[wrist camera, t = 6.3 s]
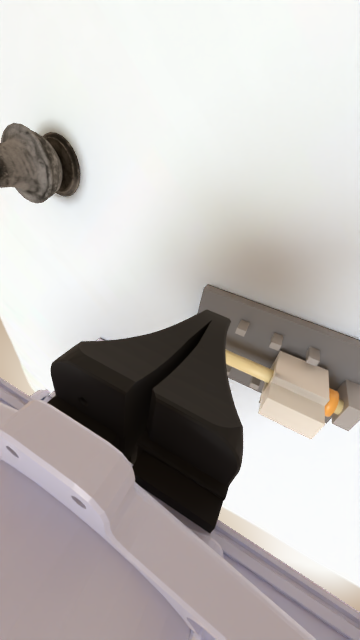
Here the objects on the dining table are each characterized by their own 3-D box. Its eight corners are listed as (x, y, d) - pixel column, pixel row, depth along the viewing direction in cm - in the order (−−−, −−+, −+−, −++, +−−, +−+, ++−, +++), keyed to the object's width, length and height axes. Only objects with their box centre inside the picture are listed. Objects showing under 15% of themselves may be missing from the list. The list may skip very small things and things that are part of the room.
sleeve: (309, 395, 22) (306, 444, 18) (266, 376, 23) (255, 418, 19) (328, 370, 20) (330, 418, 16) (280, 350, 21) (271, 391, 17)
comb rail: (326, 415, 24) (327, 454, 21) (190, 352, 28) (173, 377, 25) (385, 349, 19) (398, 388, 16) (207, 284, 23) (188, 304, 20)
